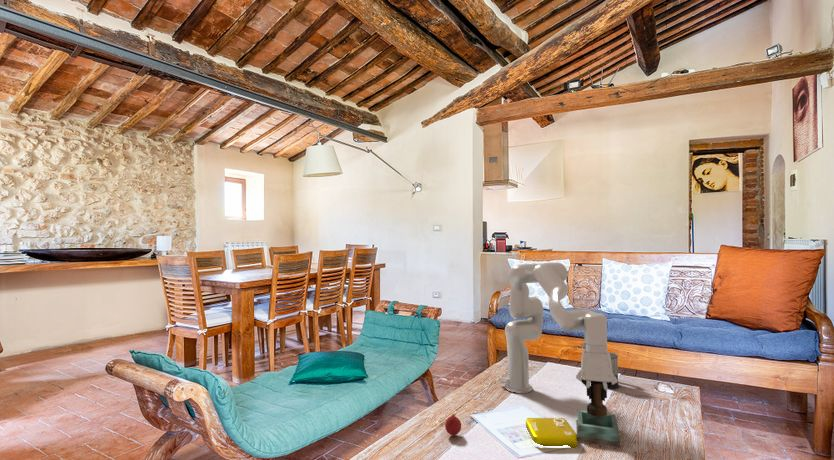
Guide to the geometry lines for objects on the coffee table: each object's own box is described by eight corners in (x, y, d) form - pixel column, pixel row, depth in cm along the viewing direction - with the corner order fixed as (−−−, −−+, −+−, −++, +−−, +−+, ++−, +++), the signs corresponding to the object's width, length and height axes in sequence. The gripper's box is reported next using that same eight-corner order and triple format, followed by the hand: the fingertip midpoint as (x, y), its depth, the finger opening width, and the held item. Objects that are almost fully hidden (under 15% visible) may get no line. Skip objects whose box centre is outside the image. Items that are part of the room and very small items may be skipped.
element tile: (524, 428, 157) (524, 416, 157) (565, 428, 157) (564, 416, 157) (534, 449, 142) (534, 435, 142) (579, 450, 142) (579, 435, 142)
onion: (456, 441, 148) (456, 418, 148) (442, 437, 151) (442, 415, 151) (464, 434, 153) (463, 412, 153) (450, 430, 156) (449, 409, 156)
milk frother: (619, 390, 191) (618, 358, 191) (582, 385, 198) (581, 354, 198) (618, 380, 204) (618, 350, 204) (584, 376, 211) (583, 346, 211)
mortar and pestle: (603, 409, 154) (602, 360, 154) (609, 417, 147) (608, 365, 148) (584, 408, 155) (583, 360, 155) (590, 416, 148) (589, 365, 148)
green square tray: (576, 441, 147) (576, 425, 147) (576, 423, 160) (576, 409, 160) (621, 447, 142) (620, 431, 142) (616, 429, 155) (616, 414, 155)
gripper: (571, 348, 150) (572, 400, 150) (622, 352, 145) (623, 405, 145) (571, 343, 158) (572, 392, 157) (620, 347, 152) (621, 397, 152)
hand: (596, 398), depth 151 cm, fingers closed on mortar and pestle, 3 cm apart
